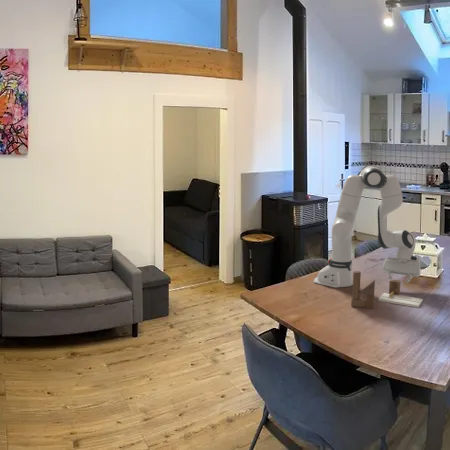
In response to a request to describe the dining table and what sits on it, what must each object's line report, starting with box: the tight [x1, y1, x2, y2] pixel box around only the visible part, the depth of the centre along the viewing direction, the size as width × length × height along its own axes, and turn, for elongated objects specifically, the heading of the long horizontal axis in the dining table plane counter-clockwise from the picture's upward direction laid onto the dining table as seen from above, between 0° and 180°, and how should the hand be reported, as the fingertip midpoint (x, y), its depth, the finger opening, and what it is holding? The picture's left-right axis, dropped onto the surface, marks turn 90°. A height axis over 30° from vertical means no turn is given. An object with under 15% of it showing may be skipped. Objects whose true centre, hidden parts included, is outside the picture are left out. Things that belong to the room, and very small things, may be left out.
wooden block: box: [350, 270, 376, 310], centre depth 259 cm, size 4×11×18 cm, turn 66°
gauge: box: [388, 279, 402, 297], centre depth 274 cm, size 5×12×8 cm, turn 149°
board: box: [378, 292, 424, 308], centre depth 268 cm, size 20×11×1 cm, turn 59°
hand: (398, 280), depth 284 cm, fingers open, 8 cm apart
